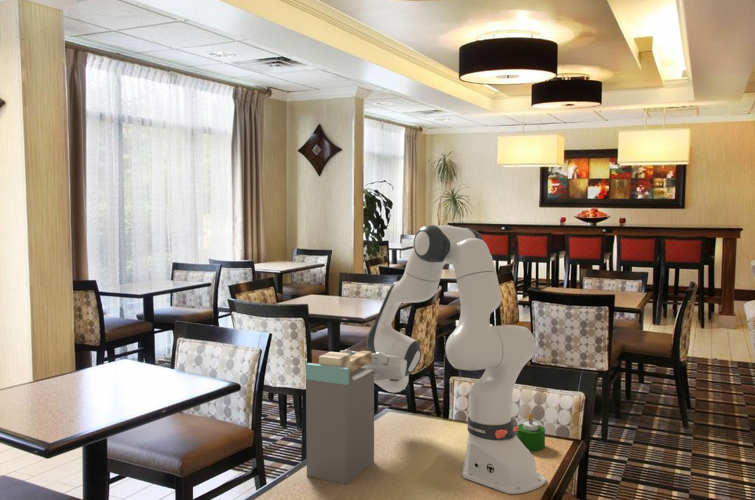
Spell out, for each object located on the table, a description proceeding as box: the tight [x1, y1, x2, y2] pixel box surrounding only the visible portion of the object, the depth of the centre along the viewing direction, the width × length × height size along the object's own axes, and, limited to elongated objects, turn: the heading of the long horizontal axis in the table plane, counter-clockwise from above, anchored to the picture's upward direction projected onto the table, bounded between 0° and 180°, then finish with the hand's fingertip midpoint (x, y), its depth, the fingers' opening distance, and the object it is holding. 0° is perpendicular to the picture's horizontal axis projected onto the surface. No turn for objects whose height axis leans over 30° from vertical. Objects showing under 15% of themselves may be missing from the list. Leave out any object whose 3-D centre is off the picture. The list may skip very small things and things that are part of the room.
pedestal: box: [305, 362, 375, 485], centre depth 175 cm, size 16×12×30 cm
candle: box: [516, 413, 546, 453], centre depth 192 cm, size 8×8×10 cm
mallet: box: [318, 350, 372, 376], centre depth 178 cm, size 22×6×6 cm, turn 155°
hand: (361, 353), depth 185 cm, fingers open, 8 cm apart
